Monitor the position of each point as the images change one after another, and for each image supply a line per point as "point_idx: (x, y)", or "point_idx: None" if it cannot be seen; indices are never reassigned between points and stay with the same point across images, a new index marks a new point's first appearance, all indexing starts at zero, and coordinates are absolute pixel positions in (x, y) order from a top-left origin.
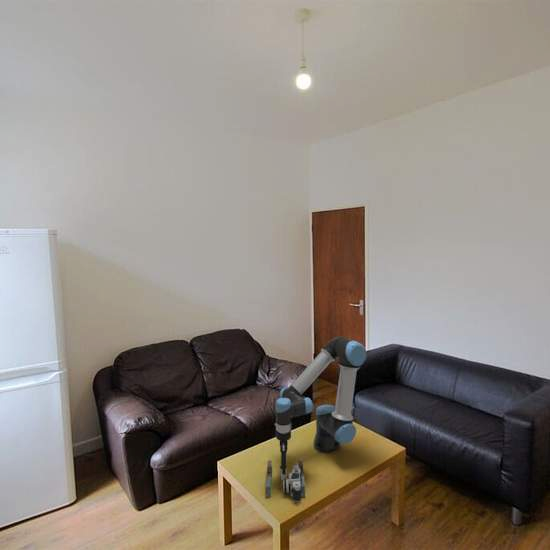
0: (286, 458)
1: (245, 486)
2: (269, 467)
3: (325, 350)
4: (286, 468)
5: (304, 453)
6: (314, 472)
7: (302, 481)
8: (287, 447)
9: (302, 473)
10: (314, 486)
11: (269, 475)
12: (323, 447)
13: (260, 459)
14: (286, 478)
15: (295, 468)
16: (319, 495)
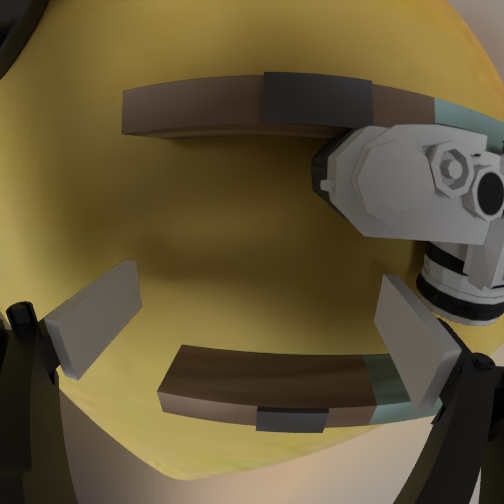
0: (115, 277)
1: (325, 446)
2: (262, 420)
3: None
4: (451, 337)
5: (25, 121)
6: (217, 18)
7: (493, 136)
8: (13, 310)
9: (387, 100)
10: (391, 41)
11: (356, 413)
12: (19, 10)
13: (106, 382)
14: (400, 280)
15: (429, 194)
16: (466, 45)
